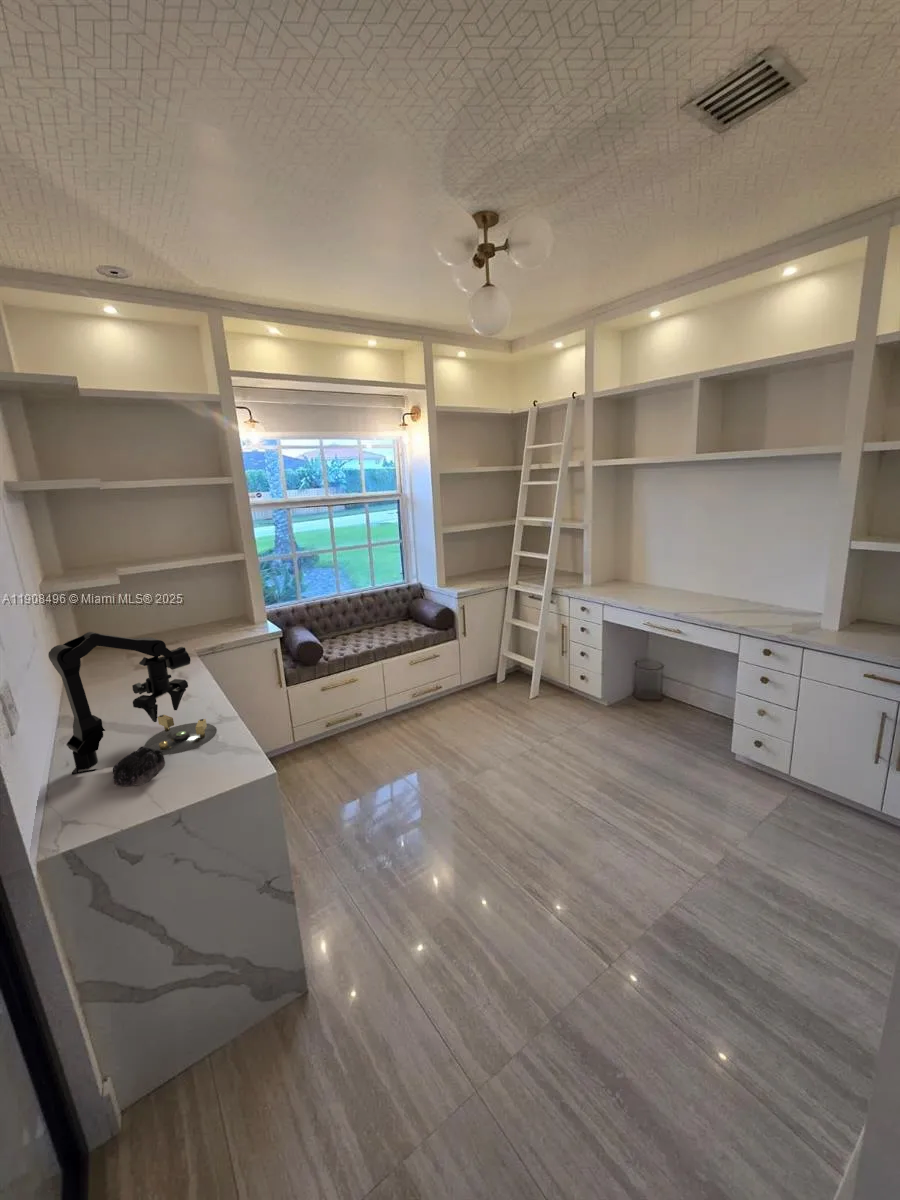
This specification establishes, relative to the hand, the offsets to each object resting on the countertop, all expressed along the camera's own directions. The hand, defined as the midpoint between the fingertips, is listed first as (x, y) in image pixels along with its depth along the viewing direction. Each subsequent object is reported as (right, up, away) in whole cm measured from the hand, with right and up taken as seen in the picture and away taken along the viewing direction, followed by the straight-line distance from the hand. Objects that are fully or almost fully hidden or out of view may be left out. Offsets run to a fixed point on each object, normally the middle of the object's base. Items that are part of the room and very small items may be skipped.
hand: (165, 715), depth 175 cm
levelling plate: (+8, -8, -4) cm, 12 cm away
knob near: (+15, -6, -4) cm, 17 cm away
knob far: (0, -6, +1) cm, 6 cm away
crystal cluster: (+6, -13, -24) cm, 28 cm away
